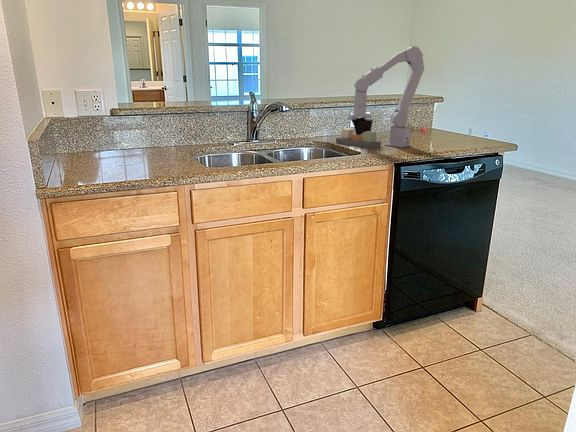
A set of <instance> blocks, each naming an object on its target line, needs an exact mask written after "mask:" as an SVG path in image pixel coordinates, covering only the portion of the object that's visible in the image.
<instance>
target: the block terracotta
mask: <svg viewBox="0 0 576 432" xmlns="http://www.w3.org/2000/svg"><path fill="white" fill-rule="evenodd" d="M362 137H363V134H361V135H357V134H356V133H354V134H352V139H351V140H356V141H362Z"/></svg>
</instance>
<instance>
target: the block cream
mask: <svg viewBox="0 0 576 432" xmlns="http://www.w3.org/2000/svg"><path fill="white" fill-rule="evenodd" d="M352 134H355V128H350V127H346V128H341V135H340V136H341V138H347V139H350V138H352Z"/></svg>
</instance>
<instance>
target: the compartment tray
mask: <svg viewBox="0 0 576 432" xmlns="http://www.w3.org/2000/svg"><path fill="white" fill-rule="evenodd" d="M351 139H352V138H350V139H347V138H341V137H339V136H338V137H335V143H336V144H339V145H347V146H352V147H357V148H362V149H368V150H370V149H373V148H374V149H375V148H380V147H381V143H382V141H379V140H376V141H375V142H364V141H356V140H351Z"/></svg>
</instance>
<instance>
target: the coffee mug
mask: <svg viewBox="0 0 576 432" xmlns="http://www.w3.org/2000/svg"><path fill="white" fill-rule="evenodd" d="M364 119H367V121H366V123H365V125H364V127H363V129H362V132H361V134H363V132H367V131H371V130H372V126H373V122H374V121H373V120H374V119H373V118H364ZM371 132H372V131H371Z"/></svg>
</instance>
